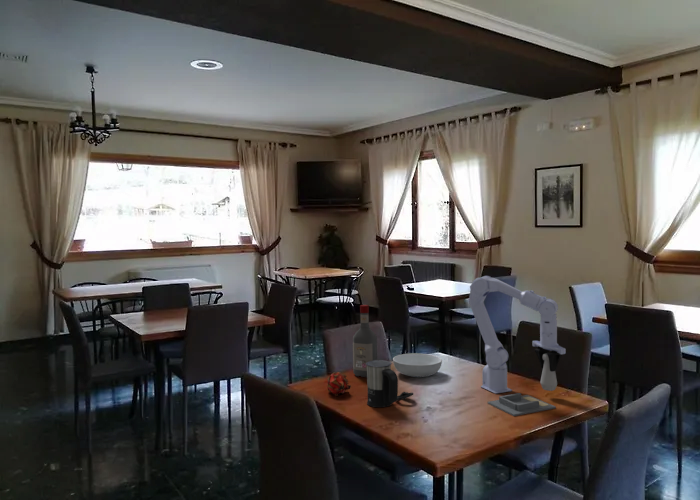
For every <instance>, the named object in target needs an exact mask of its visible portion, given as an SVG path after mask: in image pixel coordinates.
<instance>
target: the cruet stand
mask: <svg viewBox="0 0 700 500" xmlns="http://www.w3.org/2000/svg"><path fill="white" fill-rule="evenodd" d="M487 404H488V405H490V406H492V407H493V408H496V409H498V410H500V411H502V412H503V413H506V414H508V415H511V416H513V417H518V416H522V415H527V414H528V415H529V414H533V413H538V412H543V411H549V410H552V409H553V410H554V409H556V408H557V407H556V406H555V405H553V404H551V403H548V402H546V401H544V400H541V399H540V398H539V399H538V398H536V397H534V396H532V395H529V394H525V395H522V393H520V392H517V393H513V394H507V395H499V396H498V399H496V400H491V401H487Z"/></svg>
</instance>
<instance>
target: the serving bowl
mask: <svg viewBox="0 0 700 500" xmlns="http://www.w3.org/2000/svg"><path fill="white" fill-rule="evenodd" d="M392 362H393V367H394V369H396V371H397V372H398V373H400V374H402V375H405V376H408V377H411V378H425V377H429V376H433V375H434V374H436V373H438V371H439V370H440V369H441V367H442V363H443V360H442V358H441V357H439V356H436V355H433V354H429V353H418V352H417V353H415V352H413V353H403V354H398V355H396V356H393V358H392Z"/></svg>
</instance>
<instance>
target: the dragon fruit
mask: <svg viewBox="0 0 700 500" xmlns="http://www.w3.org/2000/svg"><path fill="white" fill-rule="evenodd" d="M326 384H327V385H326V386H327V392H329V393H332V394H333V396H336V395H337V396H339V395H340V394H344V393H345V392H346V391H347V390H350V389H351V388H352V385H350V384H349V380H348V379H347V375H346V374H342V372H339V371H337V372H336V371H335V372H332V373H331V374H330V375H329V376H328V377H327V382H326ZM338 394H339V395H338Z"/></svg>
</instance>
